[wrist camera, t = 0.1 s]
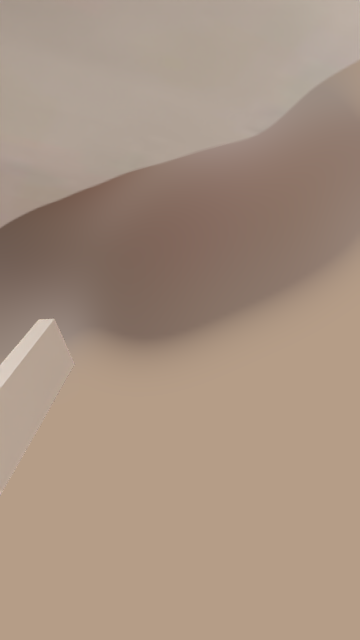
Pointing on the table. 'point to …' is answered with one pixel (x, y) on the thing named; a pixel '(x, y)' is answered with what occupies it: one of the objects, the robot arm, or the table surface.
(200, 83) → the table surface
